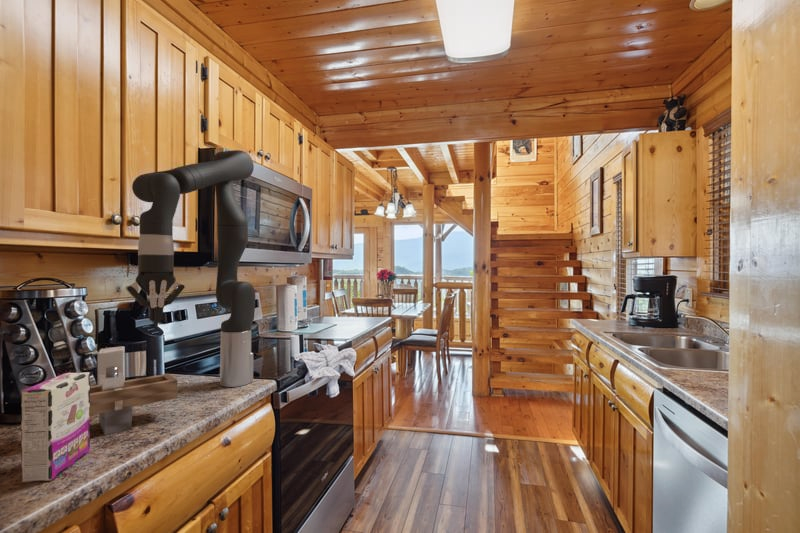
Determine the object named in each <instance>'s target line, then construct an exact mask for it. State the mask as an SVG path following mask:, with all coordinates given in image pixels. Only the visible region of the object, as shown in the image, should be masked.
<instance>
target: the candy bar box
mask: <svg viewBox="0 0 800 533" xmlns="http://www.w3.org/2000/svg"><path fill="white" fill-rule="evenodd" d="M90 374H91V372H89V371H87V372H85V371H84V372H81V371H80V372H66V373H65V372H64V373H62V374H59V375H57V376H53V377H52V378H50V379H47V380H45V381H42V382H40V383H37V384H35V385H33V386H30V387H27V388H25V389H23V390H21V392H20V394H21V395H20V399H21V400H20V401H21V402H20V403H21V404H20V406H21V408H20V410H21V415H20V416H21V419H20V420H21V422H20V423H21V424H20V425H21V442H20V446H21V483H24V484H26V483H40V482H49V481H50V482H51V481H52V480H54V479H56V477H58V476H59V475H61V474H62V473H63V472H64V471H66V470H68V469H69V467H71V466H72V465H74V464H75V463H76V462H77V461H79V460H80V459H82V457H84V456H86V454H87V455H88V454H89V452H90V451H91V449H90V448H91V447H90V446H91V441H90V440H91V438H90V434H91V432H90V430H91V429H90V427H91V426H90V425H91V424H90V423H91V422H90V420H91V418H90V416H91V415H90V411H89V410H90V386H91V385H90V384H91V383H90V381H91V380H90V376H91V375H90Z"/></svg>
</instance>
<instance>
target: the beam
mask: <svg viewBox="0 0 800 533" xmlns="http://www.w3.org/2000/svg"><path fill="white" fill-rule="evenodd" d="M177 398H178V379H177V378H175V377H174V376H172V375H171V374H170V373H165V374H158V375H152V376H146V377H140V378H139V377H138V378H134V379H127V380H126V379H125V381H124V388H117V389H114V390H108V391H102V392H100V385H98V384H96V385H90V410H89V411H90V416H93V415H98V414H99V415H98V424H99V426H100V428H101V431H102V432H103V435H104V436H108V435H112V434H117V433H121V432H125V431H129V430H132V428H133V427H132V426H133V408H134V407H137V406H138V407H139V406H142V405H143V406H144V405H148V404H153V403H159V402H164V401H168V400H172V399H177Z"/></svg>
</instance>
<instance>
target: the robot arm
mask: <svg viewBox="0 0 800 533" xmlns="http://www.w3.org/2000/svg"><path fill="white" fill-rule="evenodd" d="M254 168H255V167H254V160H253V159H252V157H251V156H250V154H249V153H247V152H246V151H244V150H239V149H238V150H237V149H233V150H223V151H219V152H216V153H215V154H214V155H213V160H212V161H205V162H196V163H191V164H186V165H181V166H177V167H175V168H172V169H168V170H161V171H160V170H159V171H153V172H148V173H142V174H140V175H138V176H137V177H136V178H135V179H134V180H133V182H132V185H131V189H132V193H133V194H134V197H136V198H137V199H138V200H140V201H142V202H144V203H152V204H151V207H150V209H148V210H146V211H143V212H142V213H141V214H140V215H139V238H138V243H137V244H138V245H137V248H138V250H137V258H138V259H137V276H136V277H135V281H134V282H133V283H131V284H130V285H127V286H125V291H126V292H128V294H130V295H131V296H132V297H133V299H135V301H136V302H137V303H139V305H140V306H143V307H147V308H148V319H149V321H151V322H152V323H153V324H157V323H161V321H163V320H164V307H166V306H168V305H172V303H173V302H174V301H175V300H176V298H178V296H179V295H180V294H181V293H182V291H183V290H184V289H185V287H186V286H185V285H184V284H181V283H179V282H178V281H177V280H176V277H175V272H174V266H175V265H174V258H175V257H174V255H175V248H174V240H173V239H174V238H173V236H174V235H173V232H174V231H173V225H174V224H173V221H174V217H175V215H176V212H177V208H178V204H179V201H180V197H181V195H184V194H190V193H192V192H195V191H198V190H201V189H204V188H206V187H209V186H213V185H214V189H215V200H216V236H217V237H216V238H217V274H216V283H215V284H216V285H215V297H216V302H217V303H218V305H219V307H221V308H222V309H227V310H230V317H229V318H228V319H226V320H224V321H222V322H221V323H220V324H221V325H220V350H219V351H220V353H219V354H220V355H219V359H220V360H219V361H220V362H219V364H220V365H219V366H220V367H219V385H220V386H222V387H225V388H234V387H235V388H236V387H242V386H245V385H248V384H250V383H253V382H254V352H252V328H253V327H252V326H253V322H254V320H255V309H256V290H255V288H254V285H252V283H250V282H248V281H241V280H238V267H239V263H240V260H241V258H242V256H243V255H244V252H245V249H246V248H247V245H248V240H249V224H248V220H247V216H246V214H245V213H244V211H243V209H242V208H241V206H240V204H239V203H238V201H237V198H236V196H235V192H234V191H235V190H234V181H241V180H246V179H248V178H250V177H251V176H252V174H253V172H254ZM139 287H140V289H141V290H142V291H143V292H144V293H145V294H146V298H147V300H146V299H145V298H144V297H143V296H142V295H141V294H140V293H139V290H140V289H139ZM171 288H172V291H171V292H170V293H169V295H167V297H166V294H167V292H168V291H170V289H171Z"/></svg>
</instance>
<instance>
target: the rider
mask: <svg viewBox="0 0 800 533" xmlns="http://www.w3.org/2000/svg"><path fill="white" fill-rule="evenodd" d="M118 369H119V366H109V367H106V375H100V392H102V391H108V390H114V389H117V388H124V375H123V374H122V373H121V372H120V373H118Z"/></svg>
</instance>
